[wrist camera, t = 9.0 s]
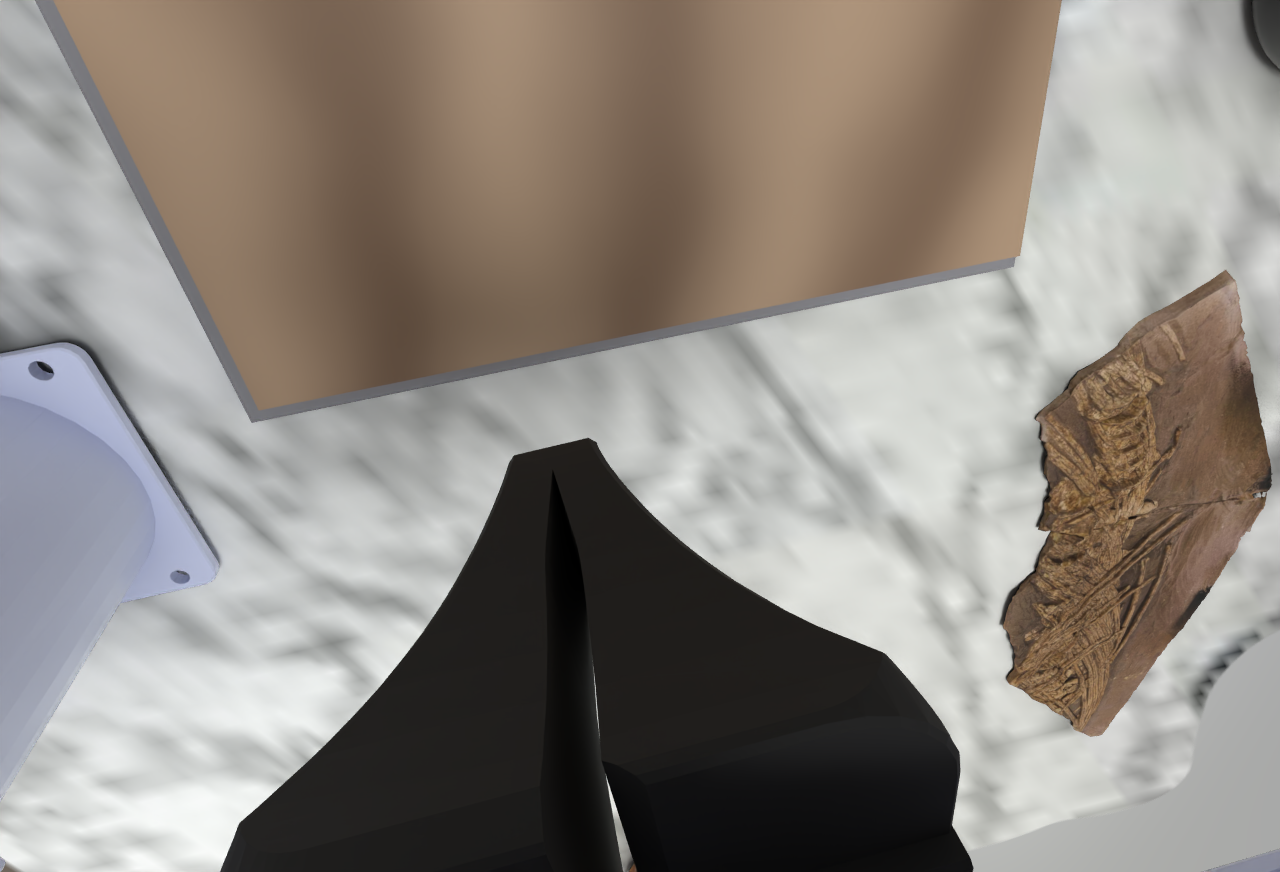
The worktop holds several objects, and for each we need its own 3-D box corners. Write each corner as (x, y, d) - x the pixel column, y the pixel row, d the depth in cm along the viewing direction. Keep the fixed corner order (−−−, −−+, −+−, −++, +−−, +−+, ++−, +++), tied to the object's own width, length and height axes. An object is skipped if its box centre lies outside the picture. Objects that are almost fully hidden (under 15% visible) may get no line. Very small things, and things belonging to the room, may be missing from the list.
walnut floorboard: (274, 382, 19) (258, 410, 17) (51, -87, 13) (4, -96, 12) (986, 240, 20) (1019, 255, 19) (1050, -230, 15) (1102, -251, 14)
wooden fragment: (1048, 308, 23) (1070, 321, 22) (1354, 237, 24) (1388, 246, 23) (970, 760, 37) (982, 779, 36) (1163, 707, 38) (1179, 724, 37)
